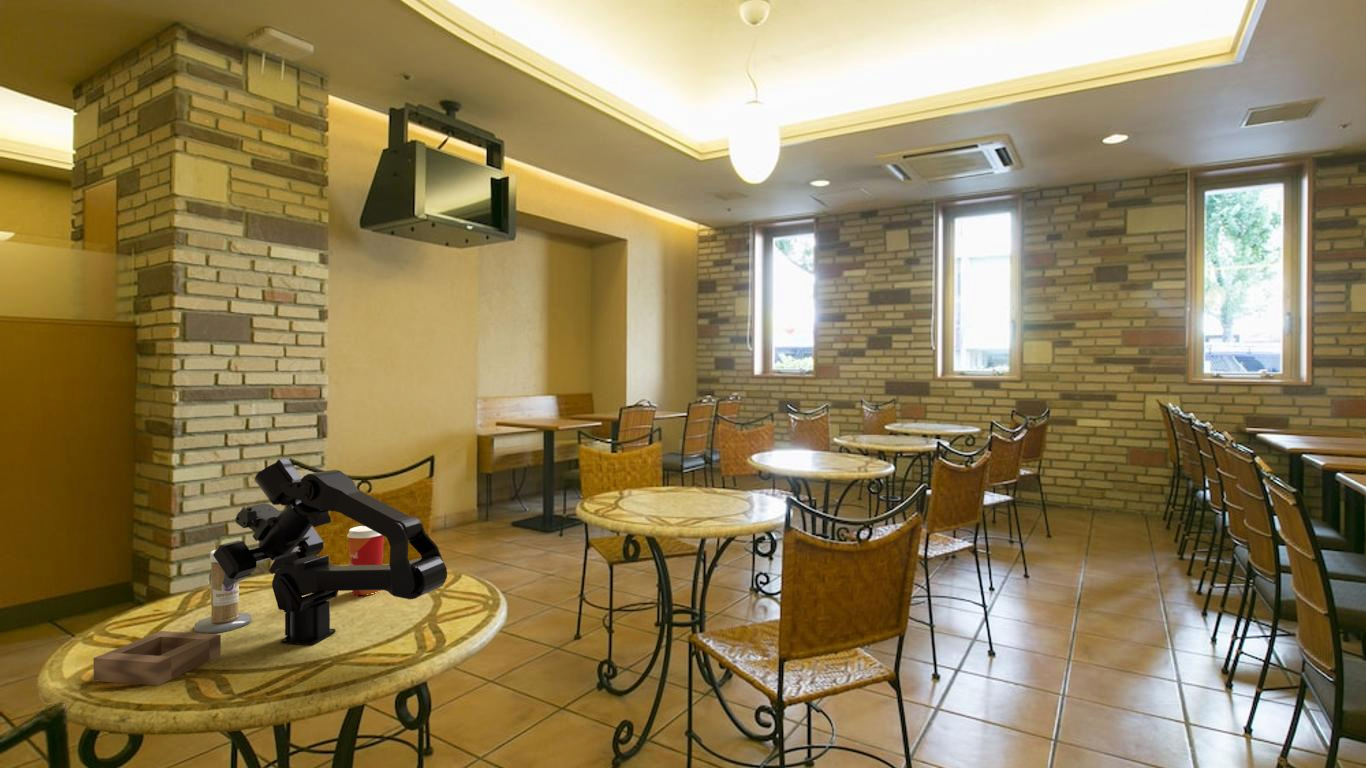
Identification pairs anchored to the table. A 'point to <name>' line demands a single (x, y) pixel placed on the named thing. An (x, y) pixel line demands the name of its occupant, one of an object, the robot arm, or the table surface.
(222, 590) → the sprinkles bottle
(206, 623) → the slate coaster
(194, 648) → the walnut caddy
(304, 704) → the table surface
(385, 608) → the table surface
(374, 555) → the paper cup
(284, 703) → the table surface
